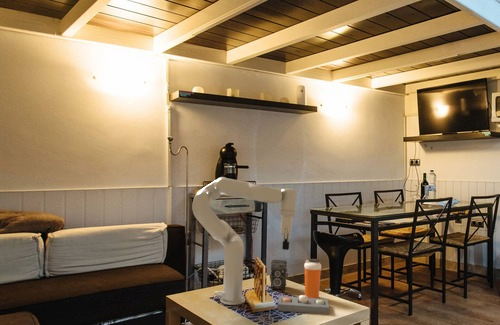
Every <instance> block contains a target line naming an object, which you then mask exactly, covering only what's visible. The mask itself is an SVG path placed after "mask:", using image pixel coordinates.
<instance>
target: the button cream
mask: <svg viewBox="0 0 500 325" xmlns="http://www.w3.org/2000/svg"><path fill="white" fill-rule="evenodd" d="M298 297H299V303H306V304H307V296H306V295H305V294H300V295H298Z"/></svg>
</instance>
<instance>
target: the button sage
mask: <svg viewBox="0 0 500 325" xmlns="http://www.w3.org/2000/svg"><path fill="white" fill-rule="evenodd" d="M316 304H321V305H324V301H323V300H316Z"/></svg>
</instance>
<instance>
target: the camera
mask: <svg viewBox="0 0 500 325" xmlns="http://www.w3.org/2000/svg"><path fill="white" fill-rule="evenodd" d="M287 262H288V261H287V260H286V259H285V260H282V259H272V261H271V262H270V273H269V281H270V289H272V290H282V291H284V290H285V289H286V287H287V280H288V279H289V273H287V272H288V268H287Z"/></svg>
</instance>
